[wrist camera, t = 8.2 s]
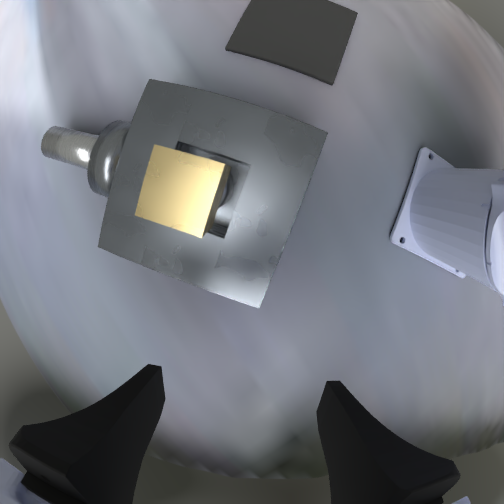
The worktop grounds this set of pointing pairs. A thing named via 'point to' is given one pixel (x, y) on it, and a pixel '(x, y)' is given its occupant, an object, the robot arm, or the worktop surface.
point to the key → (184, 190)
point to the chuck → (214, 148)
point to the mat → (295, 35)
